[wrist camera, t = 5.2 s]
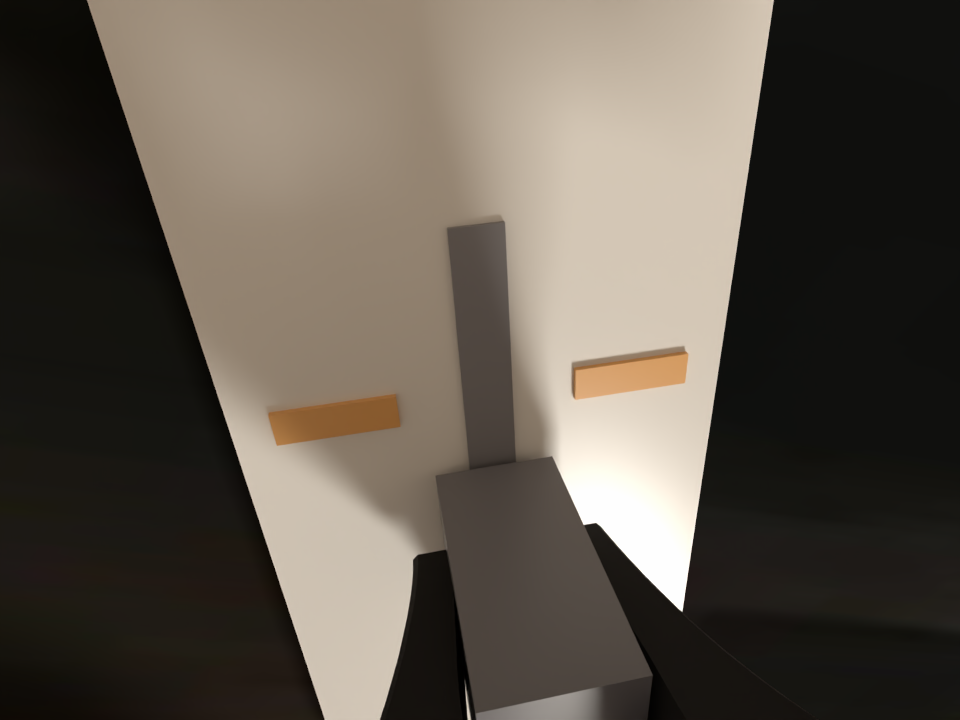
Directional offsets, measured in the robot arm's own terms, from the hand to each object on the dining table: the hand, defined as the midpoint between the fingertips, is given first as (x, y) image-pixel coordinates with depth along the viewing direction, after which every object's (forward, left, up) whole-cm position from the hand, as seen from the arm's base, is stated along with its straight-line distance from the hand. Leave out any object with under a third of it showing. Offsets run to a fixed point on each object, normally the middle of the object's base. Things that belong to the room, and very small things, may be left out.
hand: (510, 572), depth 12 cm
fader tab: (0, 0, -1) cm, 1 cm away
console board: (0, 0, -3) cm, 3 cm away
